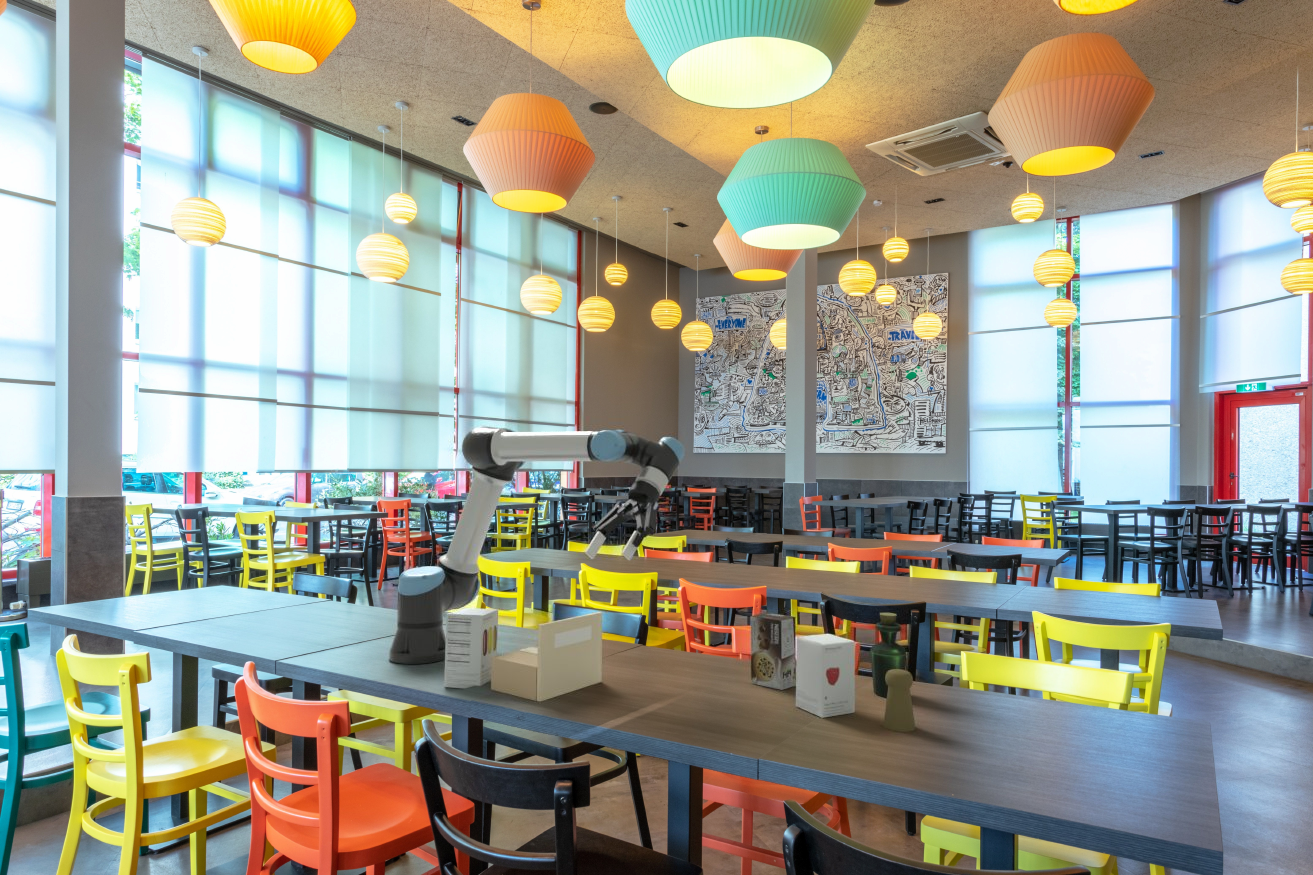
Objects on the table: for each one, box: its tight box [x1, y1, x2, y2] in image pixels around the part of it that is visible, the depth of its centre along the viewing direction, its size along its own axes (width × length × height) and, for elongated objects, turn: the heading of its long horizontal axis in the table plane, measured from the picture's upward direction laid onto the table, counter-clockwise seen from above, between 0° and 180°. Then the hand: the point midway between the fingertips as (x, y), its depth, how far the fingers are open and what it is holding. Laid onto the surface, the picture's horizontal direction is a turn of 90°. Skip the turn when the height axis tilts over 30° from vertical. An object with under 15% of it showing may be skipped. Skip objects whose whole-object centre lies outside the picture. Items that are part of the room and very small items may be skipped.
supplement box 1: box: [443, 607, 499, 689], centre depth 178 cm, size 10×9×17 cm
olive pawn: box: [883, 669, 916, 733], centre depth 150 cm, size 6×6×11 cm
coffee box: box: [750, 612, 797, 691], centre depth 180 cm, size 9×6×16 cm
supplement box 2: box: [795, 633, 856, 719], centre depth 161 cm, size 9×9×15 cm
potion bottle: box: [869, 612, 908, 698], centre depth 173 cm, size 8×8×18 cm
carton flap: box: [537, 611, 603, 703], centre depth 169 cm, size 1×20×16 cm, turn 144°
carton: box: [490, 645, 538, 702], centre depth 174 cm, size 14×20×8 cm
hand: (606, 556), depth 180 cm, fingers open, 13 cm apart
